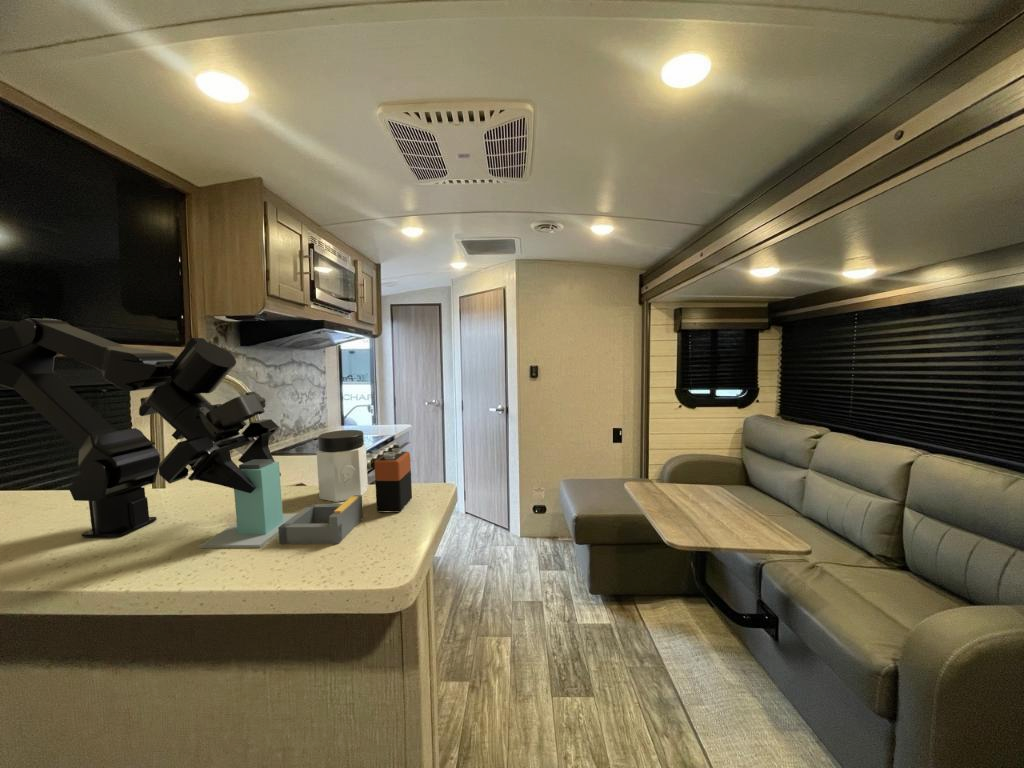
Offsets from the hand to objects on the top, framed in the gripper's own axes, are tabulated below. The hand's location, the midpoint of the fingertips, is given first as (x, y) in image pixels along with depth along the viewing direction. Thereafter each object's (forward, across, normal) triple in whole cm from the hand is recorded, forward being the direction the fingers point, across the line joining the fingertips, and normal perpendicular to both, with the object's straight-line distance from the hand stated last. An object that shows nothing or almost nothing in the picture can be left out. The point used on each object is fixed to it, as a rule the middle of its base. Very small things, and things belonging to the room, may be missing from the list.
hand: (266, 483), depth 63 cm
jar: (+9, +16, +2) cm, 18 cm away
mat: (+4, 0, +7) cm, 8 cm away
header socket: (+11, 0, -1) cm, 11 cm away
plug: (+4, 0, +6) cm, 7 cm away
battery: (+17, +10, -6) cm, 21 cm away
